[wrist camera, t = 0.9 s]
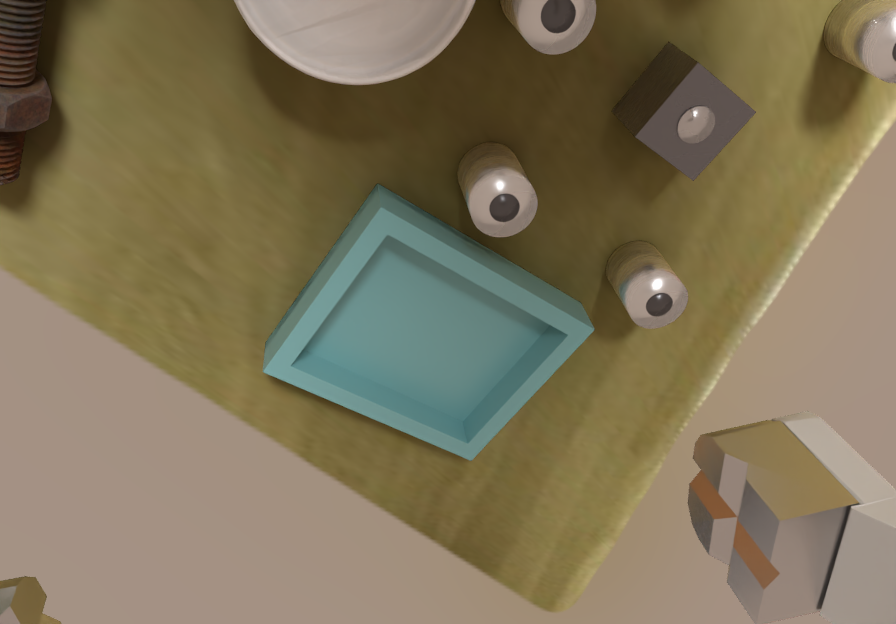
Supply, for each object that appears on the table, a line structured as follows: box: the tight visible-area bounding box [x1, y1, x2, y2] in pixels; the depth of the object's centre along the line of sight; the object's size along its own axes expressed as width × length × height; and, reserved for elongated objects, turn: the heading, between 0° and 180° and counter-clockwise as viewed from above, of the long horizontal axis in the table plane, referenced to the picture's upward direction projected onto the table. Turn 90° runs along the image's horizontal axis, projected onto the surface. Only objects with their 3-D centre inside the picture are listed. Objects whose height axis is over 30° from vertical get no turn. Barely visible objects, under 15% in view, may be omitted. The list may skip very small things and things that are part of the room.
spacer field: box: [458, 0, 896, 329], centre depth 39 cm, size 22×20×5 cm
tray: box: [263, 183, 595, 461], centre depth 47 cm, size 13×16×3 cm
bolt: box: [0, 0, 52, 185], centre depth 34 cm, size 6×5×15 cm
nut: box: [612, 42, 756, 181], centre depth 41 cm, size 5×5×4 cm
